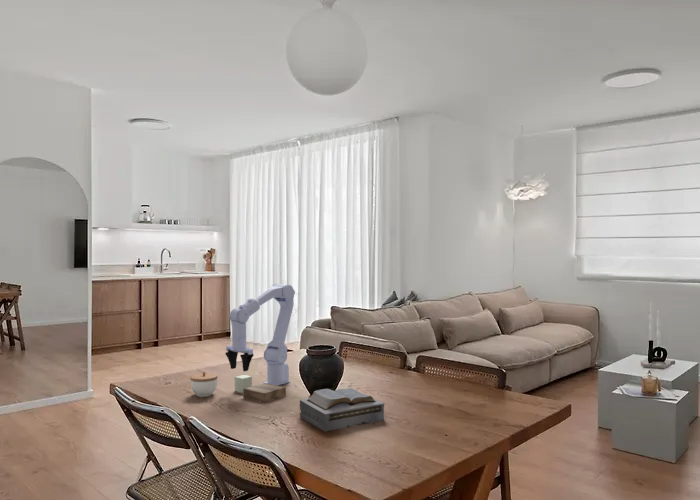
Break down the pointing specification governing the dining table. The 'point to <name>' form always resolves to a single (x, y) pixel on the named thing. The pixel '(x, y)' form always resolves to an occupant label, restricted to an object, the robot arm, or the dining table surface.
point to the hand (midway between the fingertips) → (239, 369)
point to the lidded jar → (204, 384)
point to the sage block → (242, 382)
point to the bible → (340, 409)
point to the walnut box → (264, 392)
